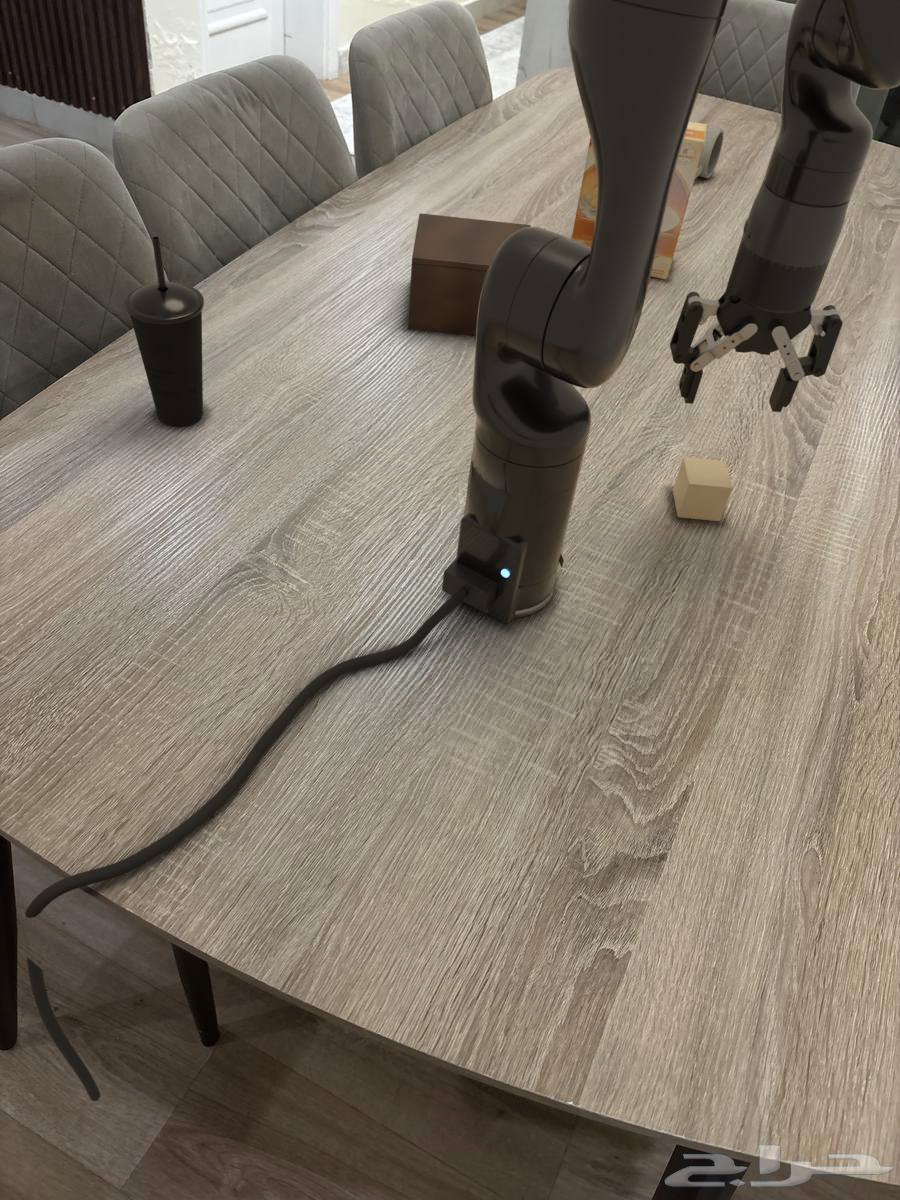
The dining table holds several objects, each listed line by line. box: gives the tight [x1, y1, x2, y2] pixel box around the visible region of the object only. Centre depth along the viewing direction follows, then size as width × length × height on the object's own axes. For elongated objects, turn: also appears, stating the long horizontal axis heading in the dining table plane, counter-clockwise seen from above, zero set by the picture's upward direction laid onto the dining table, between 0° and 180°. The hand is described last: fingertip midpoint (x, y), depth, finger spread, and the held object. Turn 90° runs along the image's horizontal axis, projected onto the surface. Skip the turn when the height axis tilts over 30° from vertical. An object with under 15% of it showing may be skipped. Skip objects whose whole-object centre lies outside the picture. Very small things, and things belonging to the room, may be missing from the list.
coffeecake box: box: [570, 121, 708, 281], centre depth 132 cm, size 15×7×20 cm, turn 76°
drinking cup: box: [123, 236, 205, 428], centre depth 96 cm, size 8×8×20 cm
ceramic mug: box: [694, 126, 724, 180], centre depth 162 cm, size 11×8×8 cm
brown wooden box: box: [407, 212, 532, 337], centre depth 121 cm, size 15×13×10 cm
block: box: [672, 456, 733, 522], centre depth 98 cm, size 4×4×4 cm
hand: (731, 403), depth 91 cm, fingers open, 8 cm apart
